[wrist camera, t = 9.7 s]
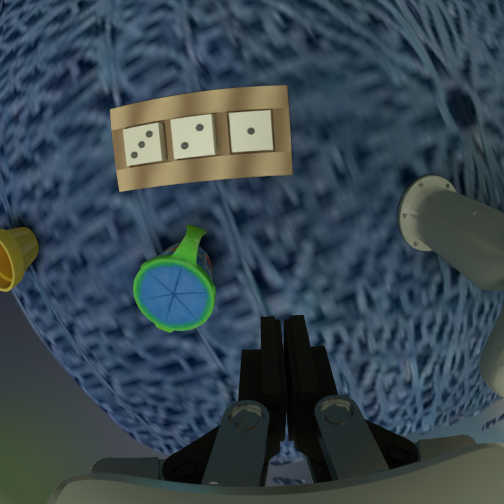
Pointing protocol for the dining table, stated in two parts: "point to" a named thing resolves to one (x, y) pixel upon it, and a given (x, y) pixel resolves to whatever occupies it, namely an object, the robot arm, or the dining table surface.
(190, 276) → the snack cup
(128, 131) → the tile three
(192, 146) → the tile two
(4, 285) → the plant pot
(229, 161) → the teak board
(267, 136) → the tile one
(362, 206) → the dining table surface
